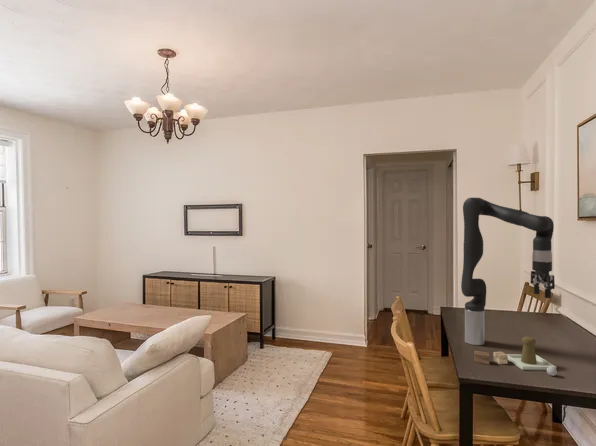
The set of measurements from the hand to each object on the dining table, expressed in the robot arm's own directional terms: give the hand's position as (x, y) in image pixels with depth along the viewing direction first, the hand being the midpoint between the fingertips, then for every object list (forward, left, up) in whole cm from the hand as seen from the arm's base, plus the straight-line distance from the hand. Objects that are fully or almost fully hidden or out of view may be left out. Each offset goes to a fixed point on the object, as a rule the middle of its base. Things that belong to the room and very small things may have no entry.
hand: (542, 295), depth 168 cm
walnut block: (+2, -28, -30) cm, 41 cm away
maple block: (+2, -20, -30) cm, 36 cm away
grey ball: (+16, -6, -28) cm, 32 cm away
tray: (+4, -8, -29) cm, 31 cm away
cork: (+3, -8, -29) cm, 30 cm away
